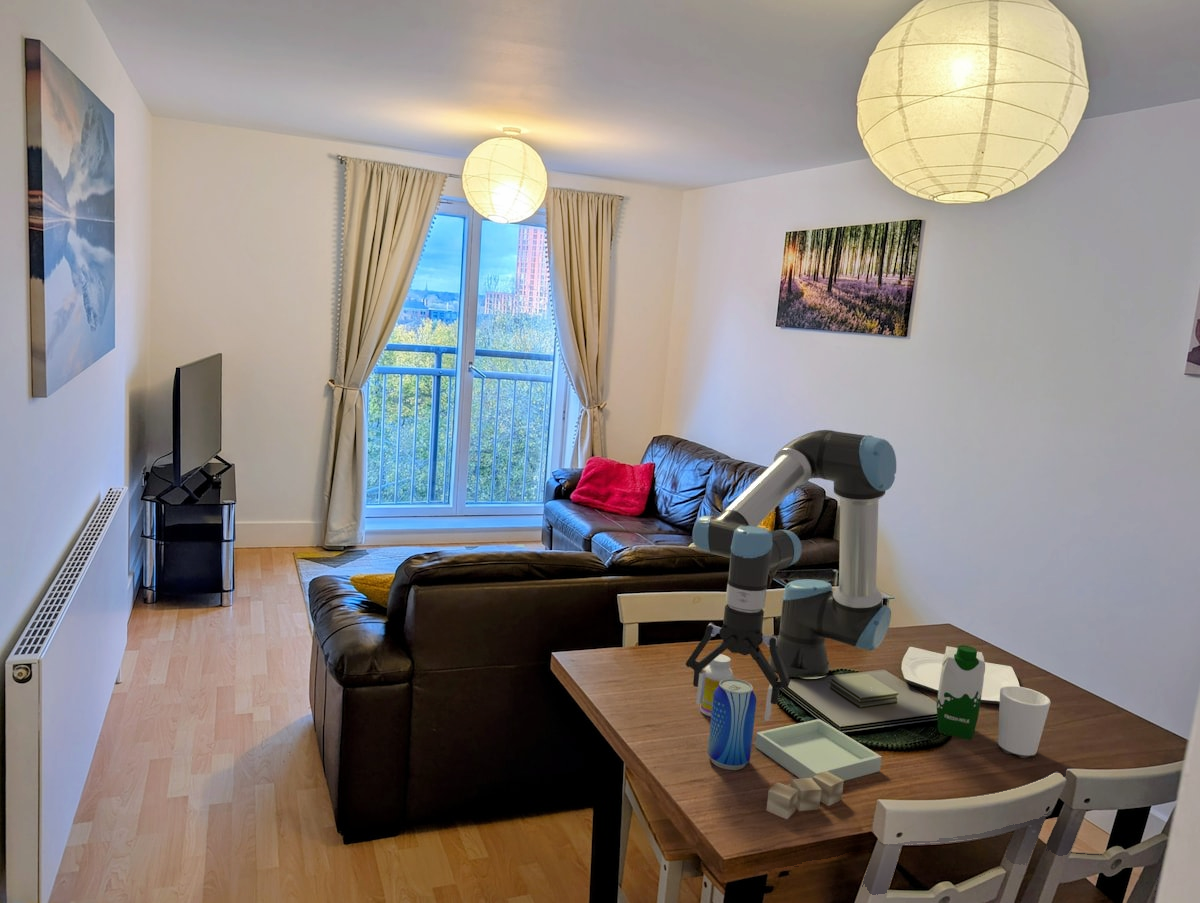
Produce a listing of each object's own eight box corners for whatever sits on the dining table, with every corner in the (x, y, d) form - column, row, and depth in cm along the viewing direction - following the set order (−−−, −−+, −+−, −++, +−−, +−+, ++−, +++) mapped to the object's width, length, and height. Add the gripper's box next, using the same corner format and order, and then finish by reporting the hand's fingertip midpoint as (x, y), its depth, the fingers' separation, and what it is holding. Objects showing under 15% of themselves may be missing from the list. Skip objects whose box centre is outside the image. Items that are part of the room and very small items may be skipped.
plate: (897, 689, 216) (898, 679, 216) (903, 653, 243) (904, 643, 242) (1023, 717, 206) (1024, 706, 206) (1015, 675, 232) (1016, 666, 232)
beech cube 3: (775, 802, 159) (777, 781, 159) (795, 810, 157) (798, 789, 156) (766, 811, 156) (768, 790, 155) (787, 819, 154) (789, 799, 153)
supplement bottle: (728, 721, 191) (734, 665, 189) (698, 716, 192) (703, 661, 190) (730, 708, 197) (735, 654, 195) (701, 703, 198) (706, 650, 197)
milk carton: (934, 734, 192) (946, 648, 189) (932, 717, 201) (944, 635, 198) (976, 743, 189) (990, 656, 186) (973, 726, 198) (986, 642, 195)
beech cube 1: (823, 790, 165) (825, 770, 164) (841, 800, 162) (843, 780, 161) (810, 796, 162) (813, 776, 162) (828, 806, 159) (830, 786, 159)
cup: (1039, 767, 181) (1048, 709, 179) (988, 752, 186) (997, 696, 184) (1043, 749, 189) (1052, 694, 187) (995, 735, 194) (1003, 681, 192)
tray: (817, 732, 189) (819, 718, 188) (879, 771, 174) (881, 756, 173) (754, 746, 180) (756, 732, 179) (814, 788, 165) (816, 773, 164)
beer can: (703, 750, 177) (710, 675, 174) (743, 751, 177) (751, 677, 175) (711, 771, 168) (719, 693, 166) (754, 772, 169) (762, 695, 167)
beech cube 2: (808, 797, 162) (811, 777, 161) (819, 809, 158) (821, 789, 157) (789, 799, 161) (791, 779, 160) (799, 811, 157) (801, 790, 156)
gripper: (677, 599, 169) (667, 703, 172) (807, 624, 160) (794, 732, 163) (687, 590, 176) (677, 689, 179) (812, 613, 167) (799, 717, 170)
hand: (732, 710), depth 171 cm, fingers open, 13 cm apart
